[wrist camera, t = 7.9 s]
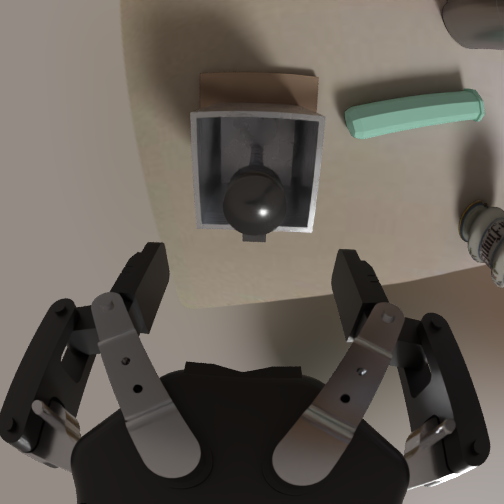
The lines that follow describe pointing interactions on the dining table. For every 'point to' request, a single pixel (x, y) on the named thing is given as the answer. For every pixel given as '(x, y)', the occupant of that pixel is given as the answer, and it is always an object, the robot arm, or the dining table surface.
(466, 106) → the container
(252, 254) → the dining table surface
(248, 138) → the plunger
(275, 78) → the walnut board
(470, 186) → the dining table surface
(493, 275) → the apothecary jar
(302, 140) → the square mug
